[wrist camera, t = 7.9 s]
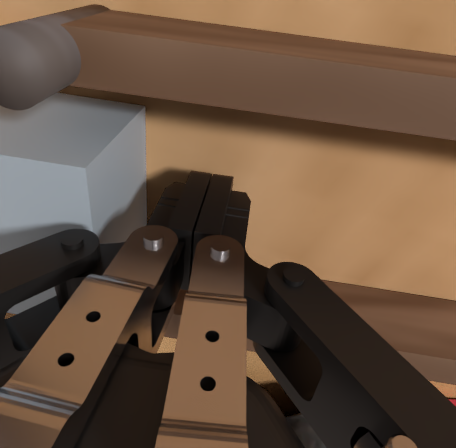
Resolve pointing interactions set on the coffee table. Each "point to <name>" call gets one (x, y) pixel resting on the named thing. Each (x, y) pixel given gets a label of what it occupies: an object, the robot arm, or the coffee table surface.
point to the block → (71, 172)
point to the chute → (255, 102)
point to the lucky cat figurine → (305, 431)
